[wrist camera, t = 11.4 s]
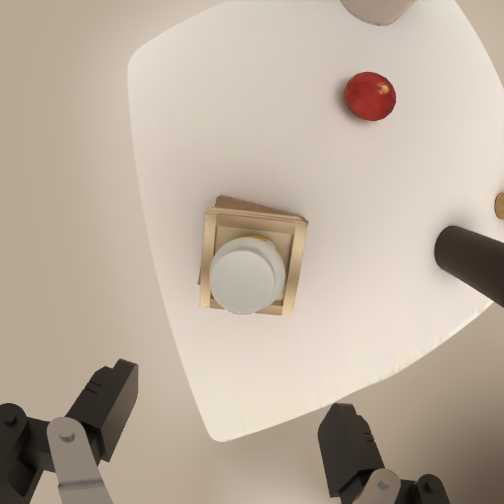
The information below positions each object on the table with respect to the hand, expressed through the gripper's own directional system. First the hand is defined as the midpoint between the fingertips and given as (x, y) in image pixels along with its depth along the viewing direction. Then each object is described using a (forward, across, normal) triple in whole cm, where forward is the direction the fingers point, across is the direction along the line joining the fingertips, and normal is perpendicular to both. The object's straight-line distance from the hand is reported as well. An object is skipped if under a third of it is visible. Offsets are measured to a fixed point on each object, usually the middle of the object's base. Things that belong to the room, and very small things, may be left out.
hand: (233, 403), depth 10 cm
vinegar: (+26, -29, -7) cm, 39 cm away
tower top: (+22, 0, 0) cm, 22 cm away
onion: (+26, -9, -21) cm, 34 cm away
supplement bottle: (+18, -1, 0) cm, 18 cm away
